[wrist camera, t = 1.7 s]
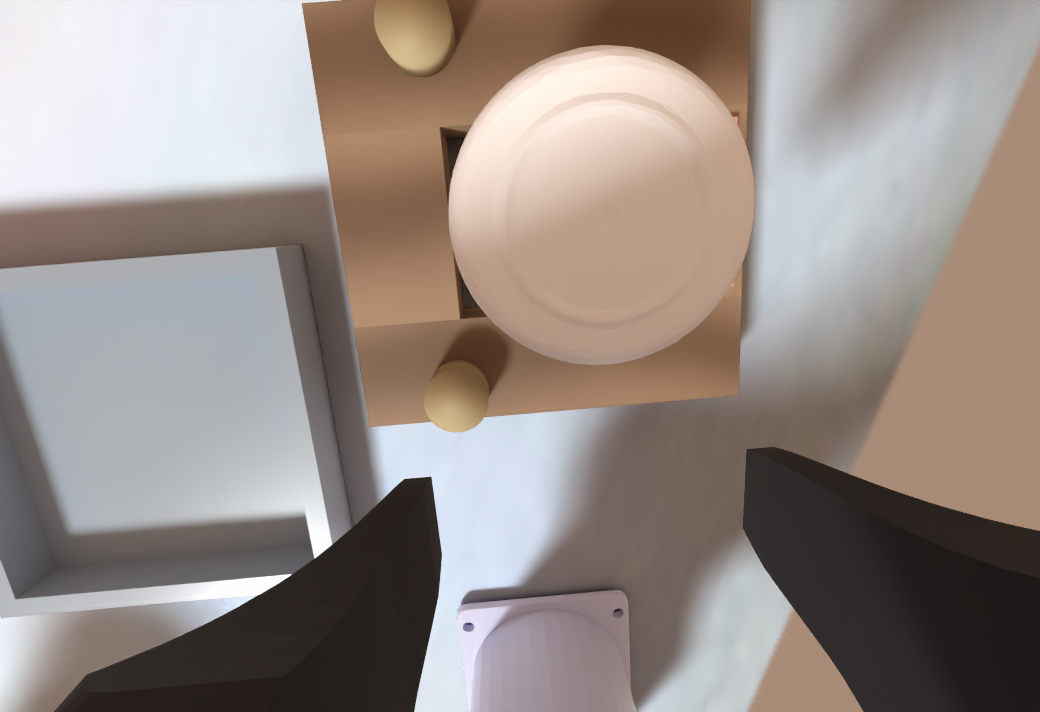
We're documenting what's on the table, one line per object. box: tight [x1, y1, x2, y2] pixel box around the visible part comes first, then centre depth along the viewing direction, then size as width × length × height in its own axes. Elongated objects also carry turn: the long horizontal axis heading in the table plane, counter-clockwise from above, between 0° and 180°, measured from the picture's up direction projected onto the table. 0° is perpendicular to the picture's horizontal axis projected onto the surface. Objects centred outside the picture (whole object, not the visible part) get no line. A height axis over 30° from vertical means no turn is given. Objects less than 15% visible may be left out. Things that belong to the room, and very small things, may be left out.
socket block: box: [302, 0, 751, 432], centre depth 18 cm, size 14×14×4 cm
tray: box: [0, 244, 353, 618], centre depth 21 cm, size 14×14×2 cm
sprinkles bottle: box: [448, 45, 755, 365], centre depth 14 cm, size 5×5×14 cm
